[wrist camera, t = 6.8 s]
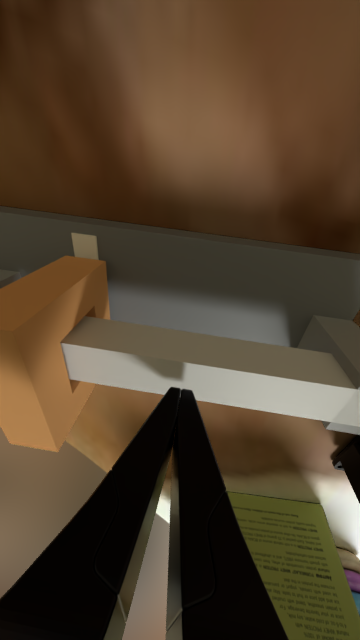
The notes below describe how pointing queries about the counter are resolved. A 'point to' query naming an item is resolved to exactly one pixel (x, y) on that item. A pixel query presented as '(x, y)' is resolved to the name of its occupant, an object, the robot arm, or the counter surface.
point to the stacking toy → (351, 573)
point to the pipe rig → (206, 314)
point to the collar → (45, 349)
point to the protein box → (298, 566)
